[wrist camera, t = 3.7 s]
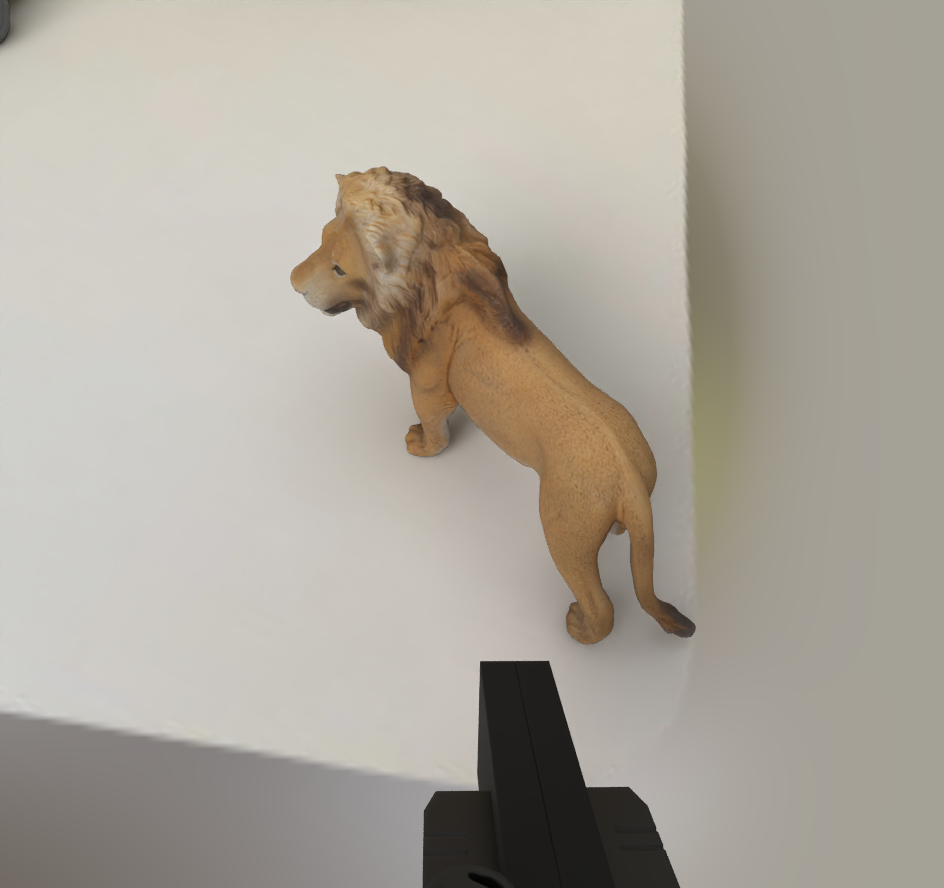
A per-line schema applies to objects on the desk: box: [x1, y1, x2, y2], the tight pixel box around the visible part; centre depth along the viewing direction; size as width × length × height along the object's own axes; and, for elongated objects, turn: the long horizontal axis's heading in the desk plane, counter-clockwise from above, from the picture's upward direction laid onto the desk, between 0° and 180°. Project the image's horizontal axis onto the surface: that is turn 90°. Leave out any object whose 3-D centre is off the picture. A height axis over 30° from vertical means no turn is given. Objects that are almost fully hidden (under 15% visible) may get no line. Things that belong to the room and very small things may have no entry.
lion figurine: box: [290, 166, 696, 644], centre depth 22 cm, size 15×5×9 cm, turn 47°
